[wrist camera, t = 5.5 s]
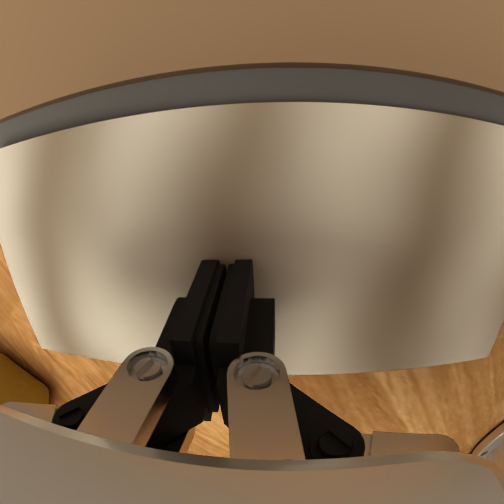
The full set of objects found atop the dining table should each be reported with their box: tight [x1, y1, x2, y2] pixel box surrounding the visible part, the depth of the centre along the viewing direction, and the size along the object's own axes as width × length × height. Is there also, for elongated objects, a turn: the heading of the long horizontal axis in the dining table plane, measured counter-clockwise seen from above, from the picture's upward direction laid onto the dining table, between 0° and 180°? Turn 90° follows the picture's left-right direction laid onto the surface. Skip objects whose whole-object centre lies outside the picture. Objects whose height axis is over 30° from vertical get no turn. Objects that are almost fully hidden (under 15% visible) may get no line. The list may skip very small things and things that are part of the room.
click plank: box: [0, 102, 504, 375], centre depth 11 cm, size 22×10×2 cm, turn 93°
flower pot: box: [0, 353, 49, 405], centre depth 17 cm, size 9×9×9 cm
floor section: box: [0, 0, 504, 148], centre depth 10 cm, size 25×22×2 cm
